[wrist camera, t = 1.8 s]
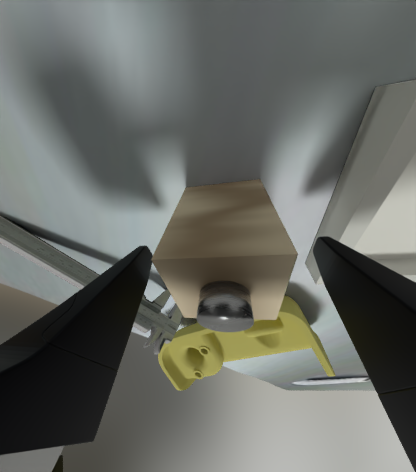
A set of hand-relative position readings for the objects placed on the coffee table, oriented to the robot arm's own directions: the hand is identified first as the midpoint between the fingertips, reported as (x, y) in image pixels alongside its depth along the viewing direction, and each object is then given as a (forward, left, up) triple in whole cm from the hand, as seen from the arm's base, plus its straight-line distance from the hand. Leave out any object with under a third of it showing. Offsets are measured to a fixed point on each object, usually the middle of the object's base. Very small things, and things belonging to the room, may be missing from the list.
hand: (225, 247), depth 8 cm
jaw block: (0, 0, -3) cm, 3 cm away
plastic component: (0, +18, -4) cm, 18 cm away
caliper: (+13, +4, -4) cm, 14 cm away
